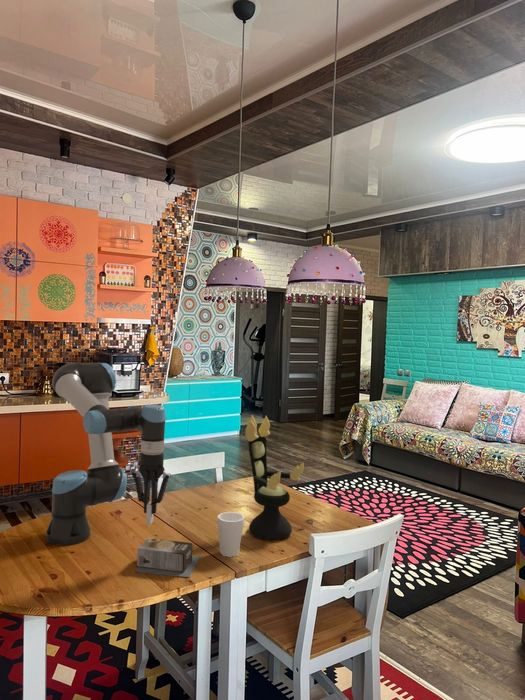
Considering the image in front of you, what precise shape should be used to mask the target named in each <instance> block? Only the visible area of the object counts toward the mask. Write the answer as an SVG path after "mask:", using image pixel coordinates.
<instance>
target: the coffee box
mask: <svg viewBox="0 0 525 700" xmlns="http://www.w3.org/2000/svg"><path fill="white" fill-rule="evenodd" d="M193 545H194V544H193V543H192V542H186V541H185V542H184V541H178V540H177V541H176V540H170V539H161V538H155V537H152V538H151V537H147V539H145V541H143V542H142V543H141V544H140V545H139V546H138V547H137V551H136V554H137V555H136V557H137V558H136V566H137V567H140V566H141V567H148V568H156V569H163V570H171V571H178V572H184V571H185V570H186V568H187V567H188V566H189V564H190V563H191V562H192V556H193Z"/></svg>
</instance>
